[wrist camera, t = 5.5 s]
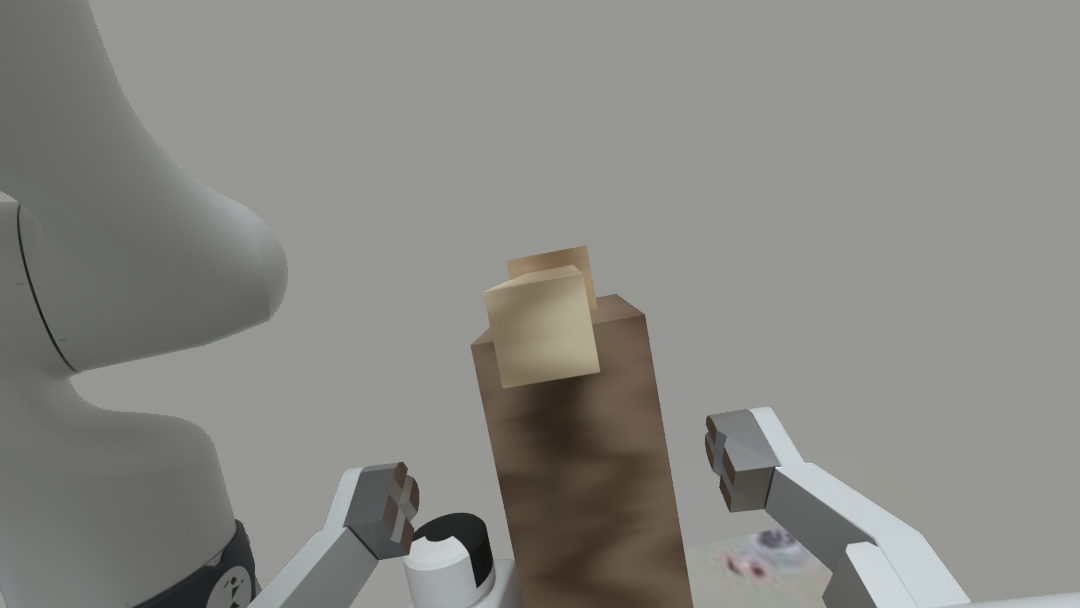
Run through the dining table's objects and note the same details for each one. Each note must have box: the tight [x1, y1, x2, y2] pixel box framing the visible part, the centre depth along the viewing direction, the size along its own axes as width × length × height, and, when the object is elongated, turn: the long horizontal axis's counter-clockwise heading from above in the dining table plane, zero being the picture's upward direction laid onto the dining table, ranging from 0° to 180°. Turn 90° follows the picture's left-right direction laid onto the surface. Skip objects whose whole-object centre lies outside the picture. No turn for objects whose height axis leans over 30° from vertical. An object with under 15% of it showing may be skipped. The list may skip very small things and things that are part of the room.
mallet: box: [483, 246, 600, 388], centre depth 23 cm, size 5×20×4 cm, turn 177°
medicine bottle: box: [402, 513, 525, 608], centre depth 32 cm, size 7×7×12 cm
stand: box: [471, 294, 693, 608], centre depth 29 cm, size 9×12×26 cm
